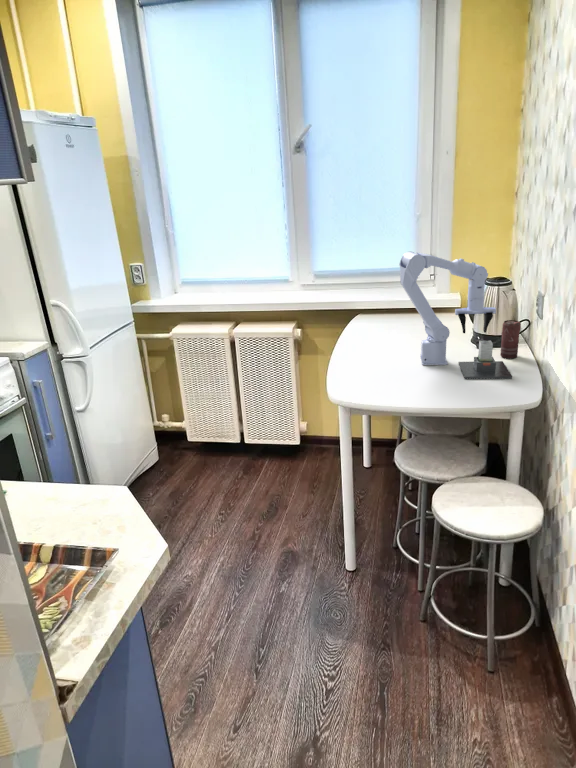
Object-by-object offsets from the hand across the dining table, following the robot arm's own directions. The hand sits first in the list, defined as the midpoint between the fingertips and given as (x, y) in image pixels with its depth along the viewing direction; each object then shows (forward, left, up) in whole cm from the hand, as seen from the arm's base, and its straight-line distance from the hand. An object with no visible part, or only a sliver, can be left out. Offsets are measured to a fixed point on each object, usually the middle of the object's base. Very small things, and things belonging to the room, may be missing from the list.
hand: (474, 332), depth 215 cm
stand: (+2, -15, -10) cm, 18 cm away
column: (+2, -15, -7) cm, 17 cm away
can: (+14, +1, -11) cm, 17 cm away
